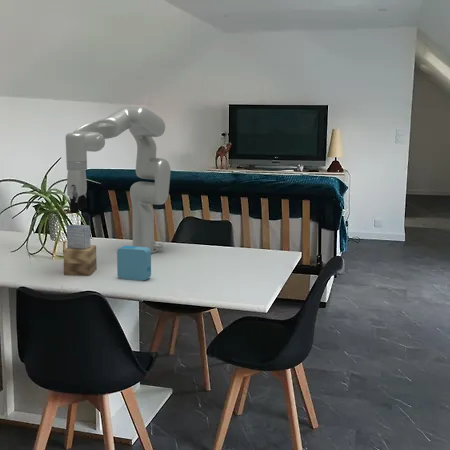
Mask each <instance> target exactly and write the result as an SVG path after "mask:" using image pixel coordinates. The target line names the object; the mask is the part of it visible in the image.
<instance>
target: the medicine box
mask: <svg viewBox="0 0 450 450" xmlns="http://www.w3.org/2000/svg"><path fill="white" fill-rule="evenodd" d="M66 245H67V246H66V248H76V249H87V248H89V247H91V245H92V244H91V225H85V224H69V225H68V226H66Z"/></svg>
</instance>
